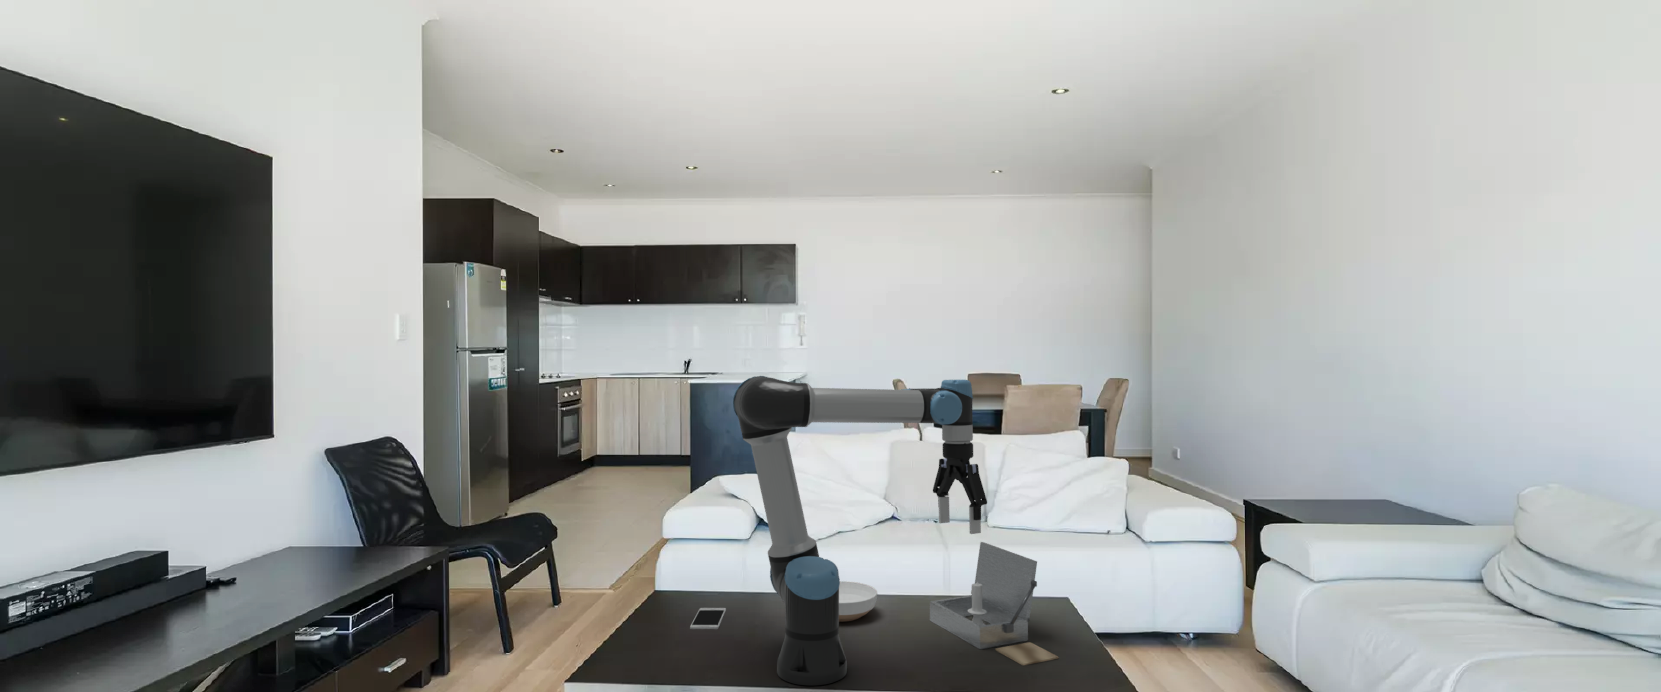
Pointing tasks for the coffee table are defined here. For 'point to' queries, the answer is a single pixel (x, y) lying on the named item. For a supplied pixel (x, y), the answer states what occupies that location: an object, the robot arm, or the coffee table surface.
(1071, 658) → the coffee table surface
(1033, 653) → the mat
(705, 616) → the smartphone
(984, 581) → the case
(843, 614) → the bowl
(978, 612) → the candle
